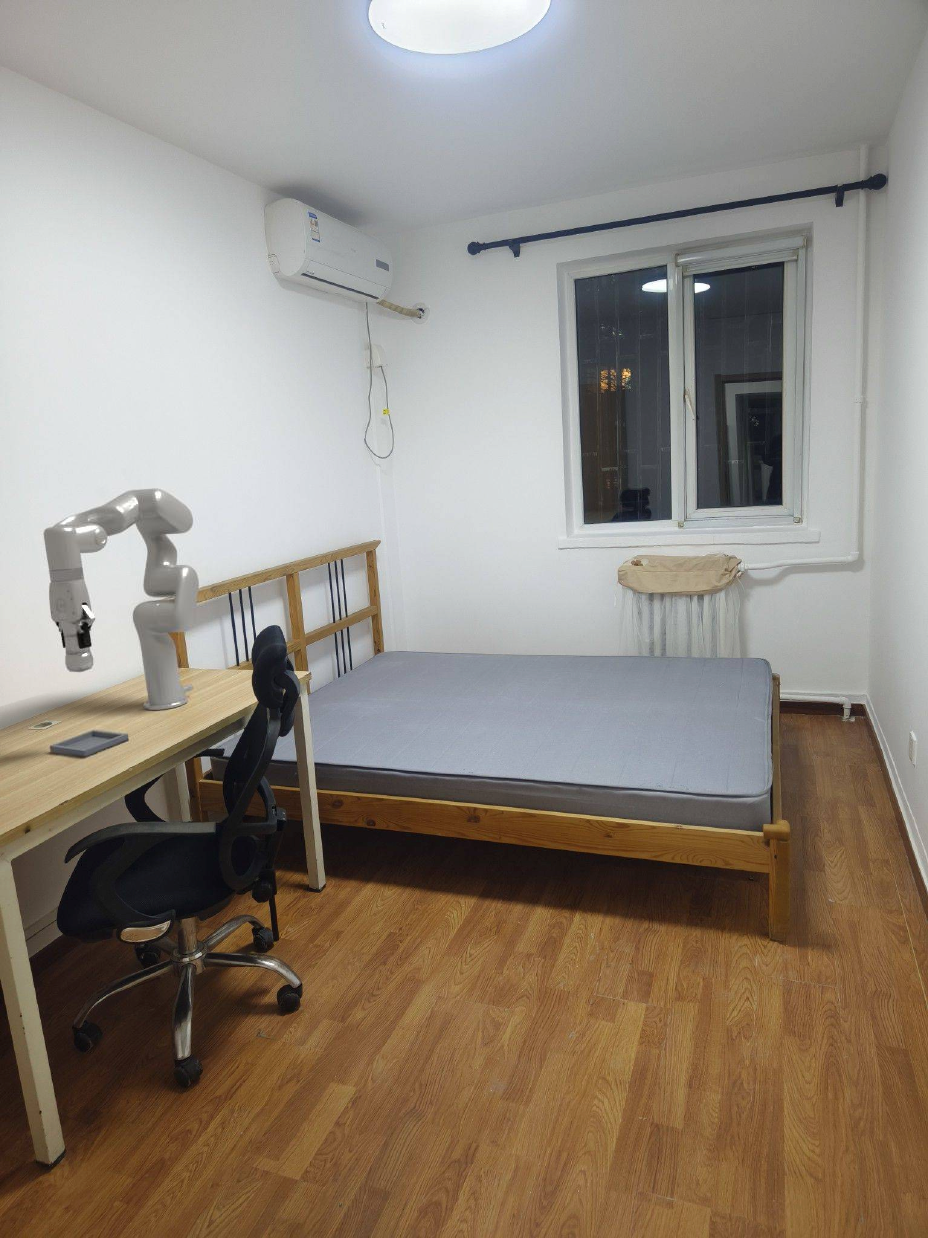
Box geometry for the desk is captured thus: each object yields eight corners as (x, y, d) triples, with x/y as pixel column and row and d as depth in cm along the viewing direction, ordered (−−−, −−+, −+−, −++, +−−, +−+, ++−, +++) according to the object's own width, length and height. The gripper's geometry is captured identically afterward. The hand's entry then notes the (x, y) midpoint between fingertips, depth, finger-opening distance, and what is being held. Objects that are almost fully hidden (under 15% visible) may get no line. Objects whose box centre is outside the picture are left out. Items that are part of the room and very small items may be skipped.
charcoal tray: (94, 736, 210) (93, 729, 210) (128, 740, 205) (127, 734, 204) (50, 752, 199) (49, 746, 199) (85, 758, 193) (84, 751, 193)
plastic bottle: (64, 675, 196) (52, 596, 192) (70, 670, 202) (58, 593, 199) (92, 672, 197) (80, 593, 194) (97, 667, 204) (86, 590, 201)
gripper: (30, 578, 196) (41, 649, 199) (76, 577, 189) (87, 651, 192) (57, 574, 203) (68, 643, 206) (103, 574, 195) (113, 645, 198)
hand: (77, 646), depth 199 cm, fingers closed on plastic bottle, 5 cm apart
